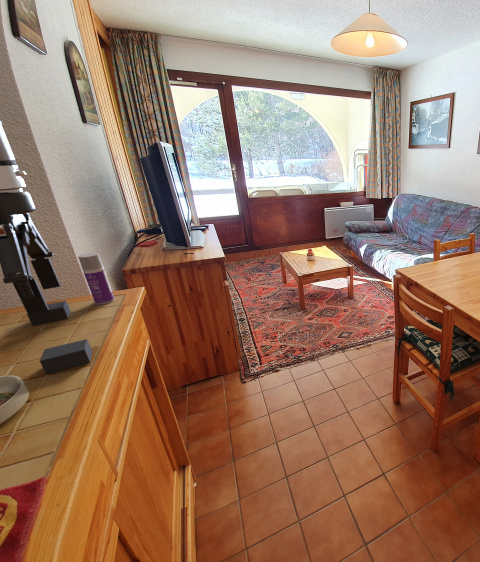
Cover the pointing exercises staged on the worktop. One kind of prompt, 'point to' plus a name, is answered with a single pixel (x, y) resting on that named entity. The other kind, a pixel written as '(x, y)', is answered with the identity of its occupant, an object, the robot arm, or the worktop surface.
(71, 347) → the dark grey block
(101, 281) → the container
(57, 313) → the black pad
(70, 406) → the worktop surface
